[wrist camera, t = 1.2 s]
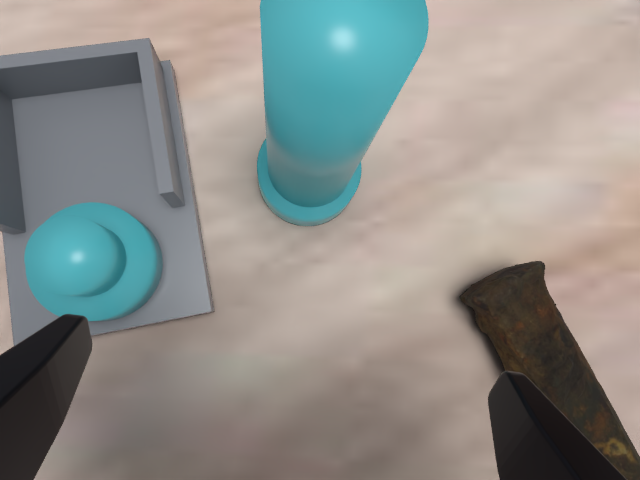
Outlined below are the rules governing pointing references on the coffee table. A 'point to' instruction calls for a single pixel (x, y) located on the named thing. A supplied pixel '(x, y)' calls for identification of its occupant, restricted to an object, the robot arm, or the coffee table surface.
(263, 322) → the coffee table surface
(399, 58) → the teal peg
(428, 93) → the coffee table surface
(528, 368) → the hand tool
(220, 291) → the coffee table surface
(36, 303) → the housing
